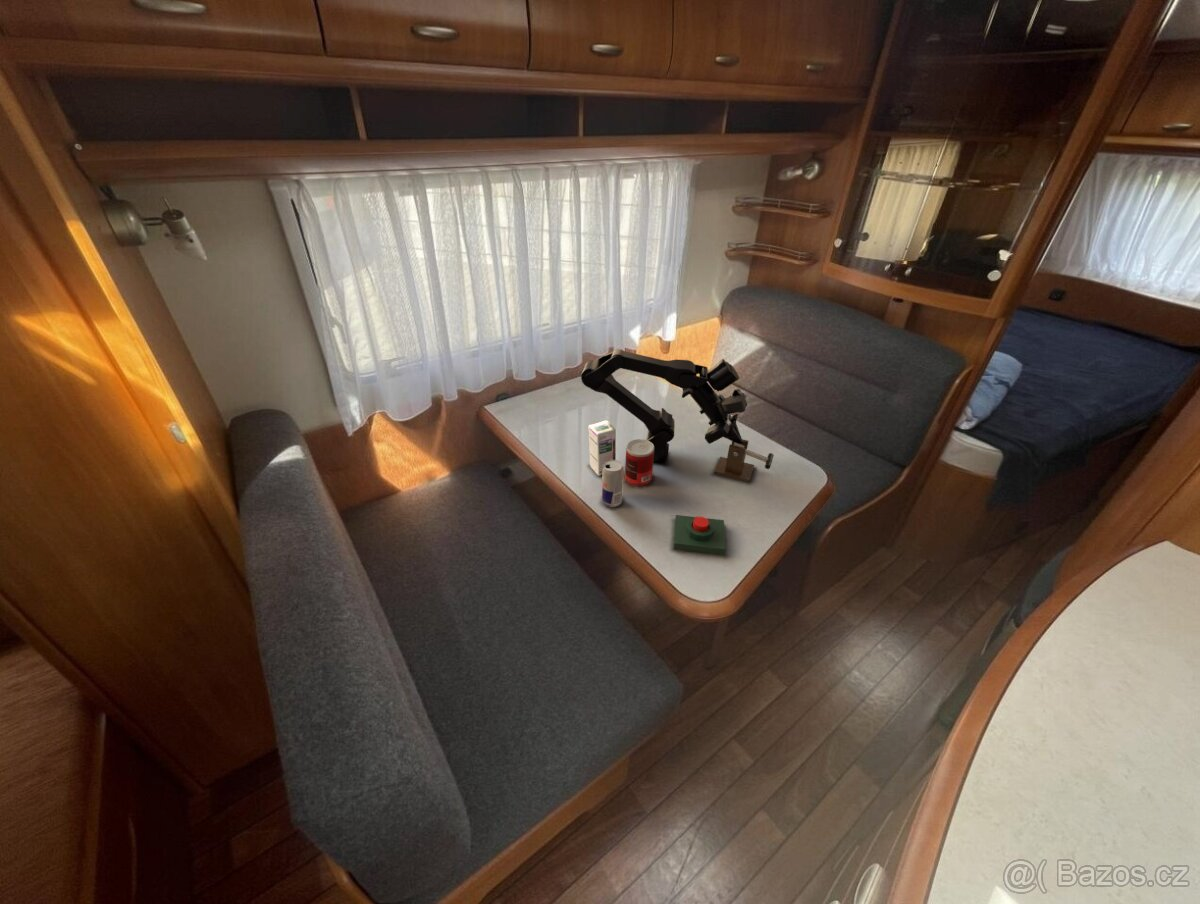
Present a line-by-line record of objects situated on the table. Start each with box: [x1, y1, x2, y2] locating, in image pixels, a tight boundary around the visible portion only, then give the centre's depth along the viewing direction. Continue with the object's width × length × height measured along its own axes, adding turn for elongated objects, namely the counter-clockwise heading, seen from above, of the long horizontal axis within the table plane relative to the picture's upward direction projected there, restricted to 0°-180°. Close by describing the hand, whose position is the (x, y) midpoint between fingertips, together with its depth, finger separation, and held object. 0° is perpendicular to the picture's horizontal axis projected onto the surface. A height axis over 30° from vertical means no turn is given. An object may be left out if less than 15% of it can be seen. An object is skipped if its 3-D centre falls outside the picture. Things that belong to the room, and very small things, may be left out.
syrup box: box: [588, 420, 617, 477], centre depth 137 cm, size 6×6×14 cm
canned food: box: [624, 438, 654, 487], centre depth 134 cm, size 8×8×11 cm
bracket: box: [713, 438, 755, 483], centre depth 137 cm, size 10×8×10 cm
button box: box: [672, 514, 727, 556], centre depth 116 cm, size 12×10×4 cm
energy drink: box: [601, 459, 624, 508], centre depth 125 cm, size 5×5×12 cm
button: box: [693, 516, 709, 532], centre depth 115 cm, size 4×4×2 cm
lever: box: [734, 443, 774, 470], centre depth 134 cm, size 11×6×2 cm, turn 65°
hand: (741, 443), depth 133 cm, fingers closed
